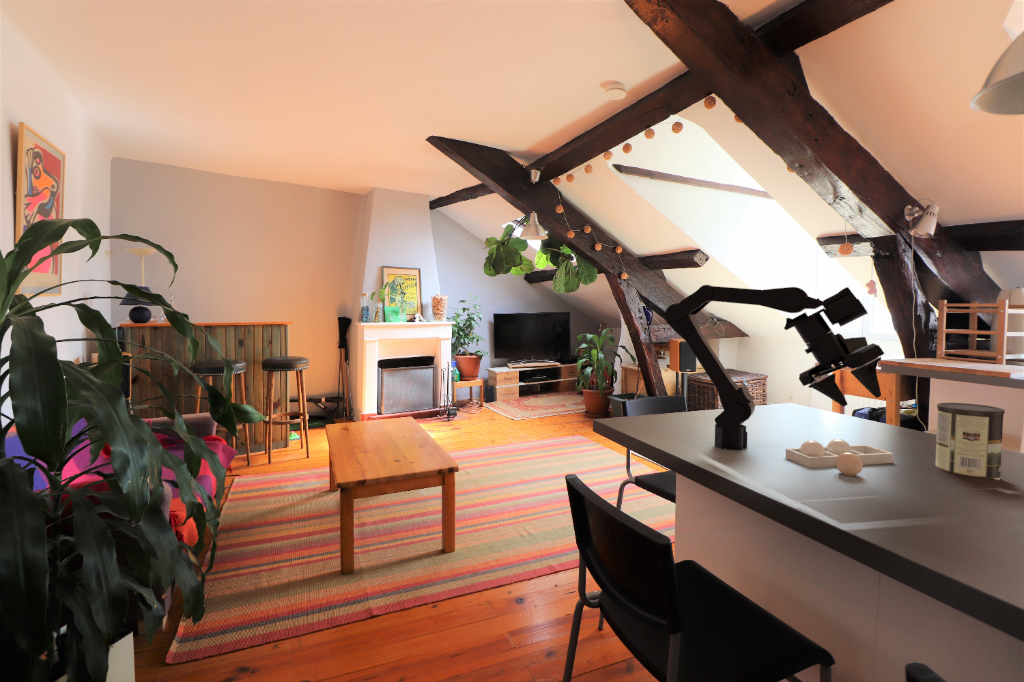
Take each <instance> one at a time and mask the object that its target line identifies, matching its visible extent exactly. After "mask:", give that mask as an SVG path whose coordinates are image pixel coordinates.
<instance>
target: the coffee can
mask: <svg viewBox="0 0 1024 682" xmlns="http://www.w3.org/2000/svg"><path fill="white" fill-rule="evenodd" d="M936 408H937V416H936V417H937V419H936V442H935V443H936V444H935V448H936V449H935V467H937V468H938V469H941V470H944V471H946V472H949V473H954V474H959V475H964V476H970V477H976V478H977V477H978V478H989V479H994V480H996V481H1001V480H1002V477H1001V472H1002V451H1003V433H1004V432H1003V430H1004V426H1003V425H1004V416H1005V412H1006V411H1005V409H1003V408H1001V407H997V406H992V405H985V404H976V403H975V404H974V403H968V402H967V403H966V402H965V403H964V402H963V403H961V402H939V403H937V404H936ZM1000 479H1001V480H1000Z"/></svg>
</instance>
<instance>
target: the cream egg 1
mask: <svg viewBox="0 0 1024 682" xmlns="http://www.w3.org/2000/svg"><path fill="white" fill-rule="evenodd" d="M824 447H825V446H823V444H821V443H820V442H818V441H817V440H813V439H810V440H806V441H803V442H802V443H801V445H800V447H799V448H800V453H801V454H804V455H807V456H809V457H818V456H824V454H825V450H824Z"/></svg>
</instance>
